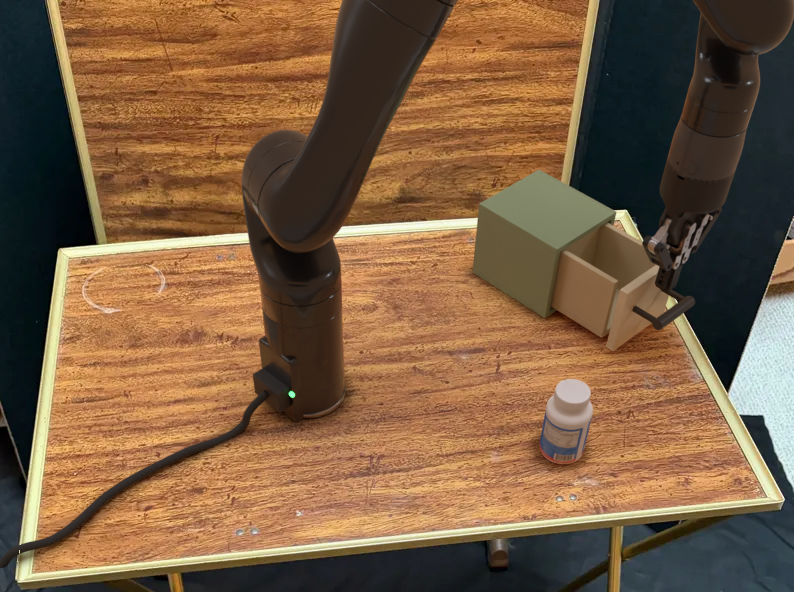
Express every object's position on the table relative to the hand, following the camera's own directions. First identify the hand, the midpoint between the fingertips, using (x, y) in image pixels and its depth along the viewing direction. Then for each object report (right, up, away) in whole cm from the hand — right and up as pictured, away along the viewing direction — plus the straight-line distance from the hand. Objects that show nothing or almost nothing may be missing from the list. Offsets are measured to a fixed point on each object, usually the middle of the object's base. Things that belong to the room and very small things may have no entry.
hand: (664, 287), depth 121 cm
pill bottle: (-14, -21, -4) cm, 25 cm away
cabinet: (-14, +6, +16) cm, 22 cm away
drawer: (-4, -2, +9) cm, 10 cm away
